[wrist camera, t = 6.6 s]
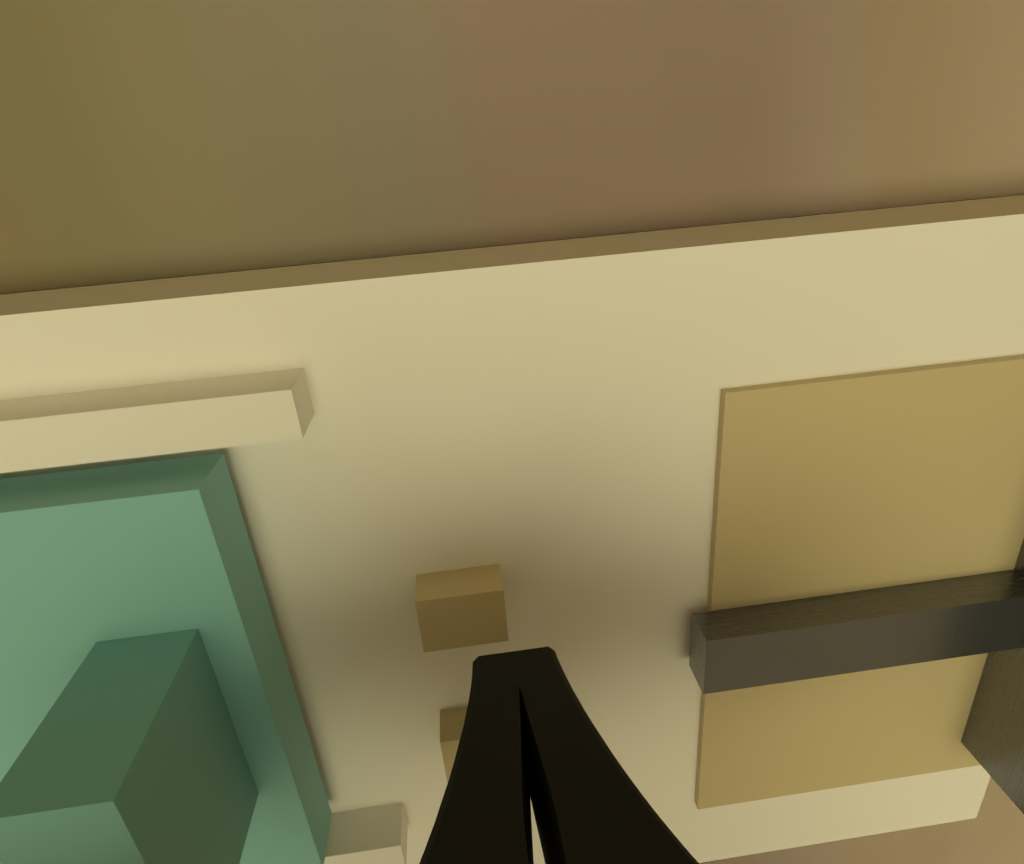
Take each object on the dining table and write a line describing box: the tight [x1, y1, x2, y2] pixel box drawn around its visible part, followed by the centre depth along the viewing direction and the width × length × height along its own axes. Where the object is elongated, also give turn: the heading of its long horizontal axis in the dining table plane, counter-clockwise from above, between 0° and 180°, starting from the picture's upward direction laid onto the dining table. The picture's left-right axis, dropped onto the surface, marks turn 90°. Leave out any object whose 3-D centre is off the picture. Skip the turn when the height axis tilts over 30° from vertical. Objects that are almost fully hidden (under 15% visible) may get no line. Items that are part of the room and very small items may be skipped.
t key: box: [689, 538, 1024, 814], centre depth 12 cm, size 9×9×3 cm
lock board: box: [0, 195, 1024, 864], centre depth 14 cm, size 16×26×3 cm, turn 95°
